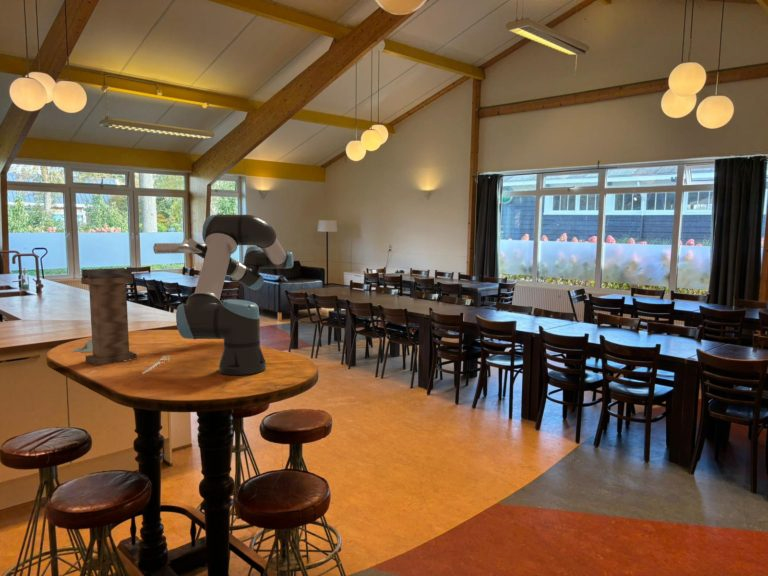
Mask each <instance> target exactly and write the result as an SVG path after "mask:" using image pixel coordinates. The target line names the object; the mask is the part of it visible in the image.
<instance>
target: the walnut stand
mask: <svg viewBox="0 0 768 576" xmlns="http://www.w3.org/2000/svg"><path fill="white" fill-rule="evenodd" d="M132 273H133V270H132V268H125V267H116V268H114V267H113V268H112V267H111V268H92V269H90V268H89V269H87V268H86V269H81V278H80V280H81V281H80V283H81V284H82V285H87V286H88V290H89V305H90V306H89V307H90V327H91V339H92V348H93V352H92V354H89V355H87V354H86V355H85V362H86V363H89V364H91V365H93V366H94V367H96V366H102V365H110V364H115V363H114V362H116V363H120V362H119V361H123V362H125V361H124V360H129V359H135V358H137V359H138V356H137V355H138V354H137V352H136V353H135V352H133V351H130V341H129V339H130V338H129V322H128V321H129V319H128V317H129V316H128V300H127V299H128V298H127V284H133V283H134V276H133V274H132ZM135 360H136V359H135ZM129 361H130V360H129ZM109 363H110V364H109Z"/></svg>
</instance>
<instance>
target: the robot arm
mask: <svg viewBox="0 0 768 576" xmlns="http://www.w3.org/2000/svg"><path fill="white" fill-rule="evenodd" d="M205 218H206V219H204V223H203V225H202V231H201V232H202V233H201V234H202V235H201V236H202V240H203V243H205V244H206V245H205V247H204V246H203V245H201V244H199V243H200V242H197V241H196V240H194V239H192V238H189V239H186V238H183V241H182V242H181V243H187V245H189V246H190V247H192V248H194V249H196V250H197V251H199V252H202V253H193V255H196V256H199V257H200V258H202V259H203V263H202V265H201V269H200V272H199V276H198V280H197V283H196V287H195V289H194V290H195V291H194V292H193V293H191V294H190V295H189V296H188V297H187V301H186V303H180V304H179V305H178V306H177V307H176V313H175V321H176V322H175V323H176V328H177V331H178V333H179V336H181V337H182V338H184V339H187V340H188V339H189V340H223V351H222V355H221V357H220V360H219V365H218V369H219V371H218V372H219V373H220V374H223V375H227V376H247V375H254V374H258V373H261V372H263V371H265V370H266V369H267V365H266V364H267V363H266V359H265V357H264V353H263V351H262V348H261V328H260V325H261V324H260V319H261V317H260V308H259V306H258V304H257V303H256V302H253V301H249V300H245V299H231V298H229V299H224V300H223V301H222V300H220V299H221V295H222V291H223V287H224V284H225V280H226V277H229V278H231V279H232V281H237V282H239V284H242V285H243V286H245V287H246V288H248V289H251V290H253V291H257V290H259V289H261V288H262V286H263V284H264V281H265V280H264V279H265V278H264V276H263V275H261V274H260V271H261V269H284V270H285V269H292V268H293V267H294V262H295V258H294V253H293V252H292V251H286V250H284V248H283V246H282V245H281V243H280V241H279V240H278V238H277V232H276V231H275V229H274V227H273V226H272V225H271V224H270V223H269V222H267V221H266V220H264V219H262V218H260V217H258V216H255V215H252V214H222V213H221V214H219V213H218V214H211V215H209V216H208V217H205ZM238 246H249V247H247V249H245V253H244V257H243V263H242V262H239V261H237V260H236V259H235V258H233V257H231V256H232V255H233V254H234V253H235V252H236V251H237V249H238Z"/></svg>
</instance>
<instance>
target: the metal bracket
mask: <svg viewBox="0 0 768 576" xmlns="http://www.w3.org/2000/svg"><path fill="white" fill-rule="evenodd" d="M73 352H81V353H93V348H92V338H90V339H89V340H88V341H87V342H86V343H85V344H84V346H83V347H80V348H78V347H77V348H75V349H74V350H73V351H72V353H73Z"/></svg>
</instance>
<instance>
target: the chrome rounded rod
mask: <svg viewBox="0 0 768 576" xmlns="http://www.w3.org/2000/svg"><path fill="white" fill-rule="evenodd" d="M198 243H199V244H201V245H203V246H204V247H205V245H206V244H205V242H198ZM152 249H153V252H154V253H153V254H156V255H158V254H159V255H161V254H194V253H202V252H199V251H197V250H196V249H194V248H192V247H190V246H189V245H187V243H182V242H181V243H180V242H178V243H177V242H176V243H175V242H174V243H173V242H169V243H167V242H164V243H162V242H161V243H159V242H157V243H154V244H153V247H152Z"/></svg>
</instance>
